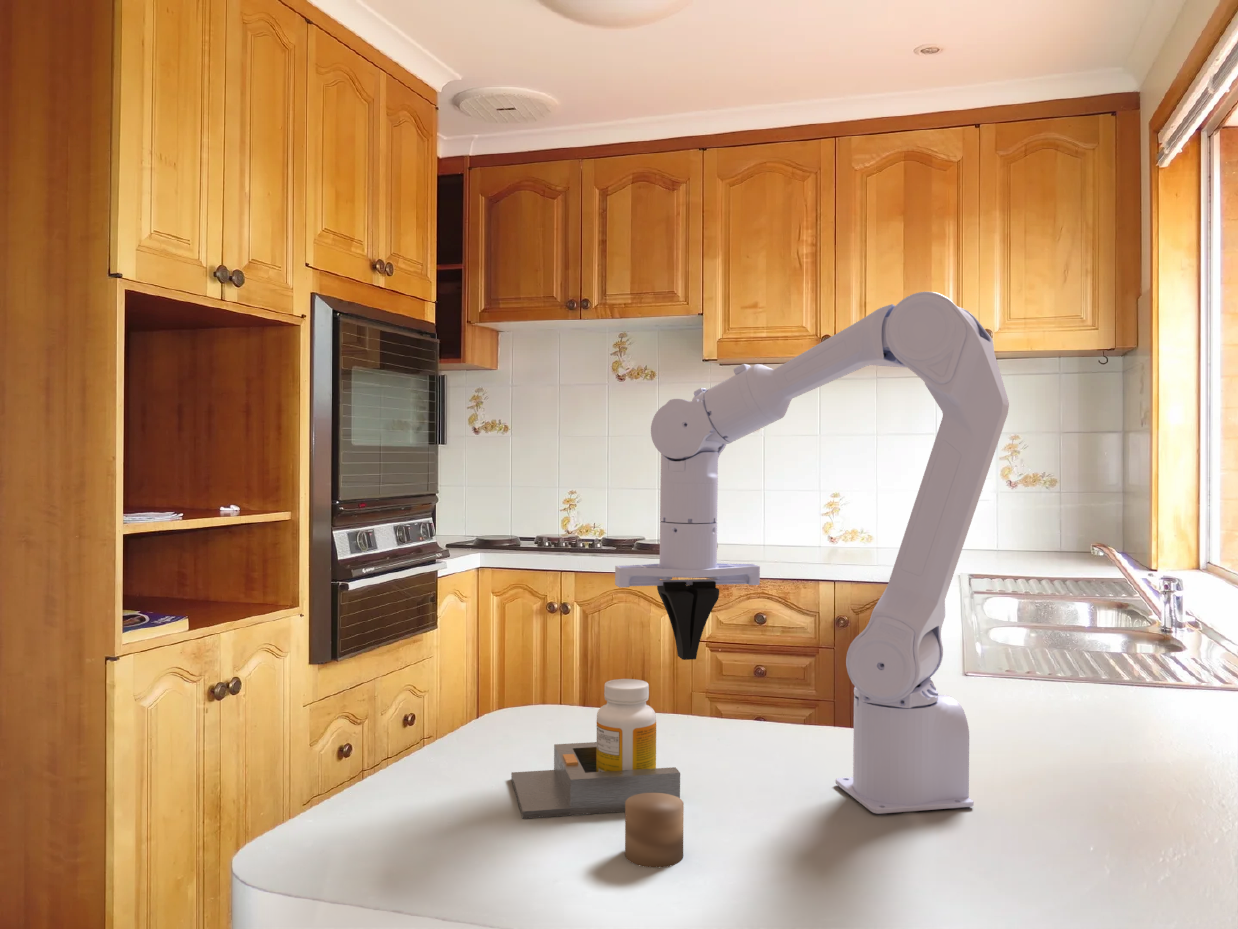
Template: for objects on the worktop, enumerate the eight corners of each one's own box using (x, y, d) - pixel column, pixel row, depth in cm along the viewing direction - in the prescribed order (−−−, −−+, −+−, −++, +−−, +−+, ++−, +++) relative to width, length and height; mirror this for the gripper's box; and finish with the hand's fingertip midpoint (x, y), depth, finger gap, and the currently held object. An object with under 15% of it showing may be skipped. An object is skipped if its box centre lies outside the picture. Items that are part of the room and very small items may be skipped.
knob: (674, 842, 75) (675, 791, 75) (690, 865, 71) (690, 811, 71) (619, 846, 74) (620, 794, 74) (631, 870, 70) (632, 815, 70)
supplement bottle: (654, 781, 89) (654, 676, 89) (657, 801, 84) (658, 690, 84) (596, 780, 89) (596, 676, 89) (595, 801, 84) (596, 690, 83)
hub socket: (652, 770, 92) (652, 737, 92) (679, 807, 82) (680, 770, 82) (511, 779, 89) (511, 744, 89) (522, 818, 79) (522, 780, 79)
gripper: (743, 518, 101) (741, 647, 101) (609, 519, 98) (607, 651, 98) (768, 523, 94) (766, 661, 94) (624, 524, 91) (622, 666, 91)
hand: (686, 657), depth 96 cm, fingers closed
